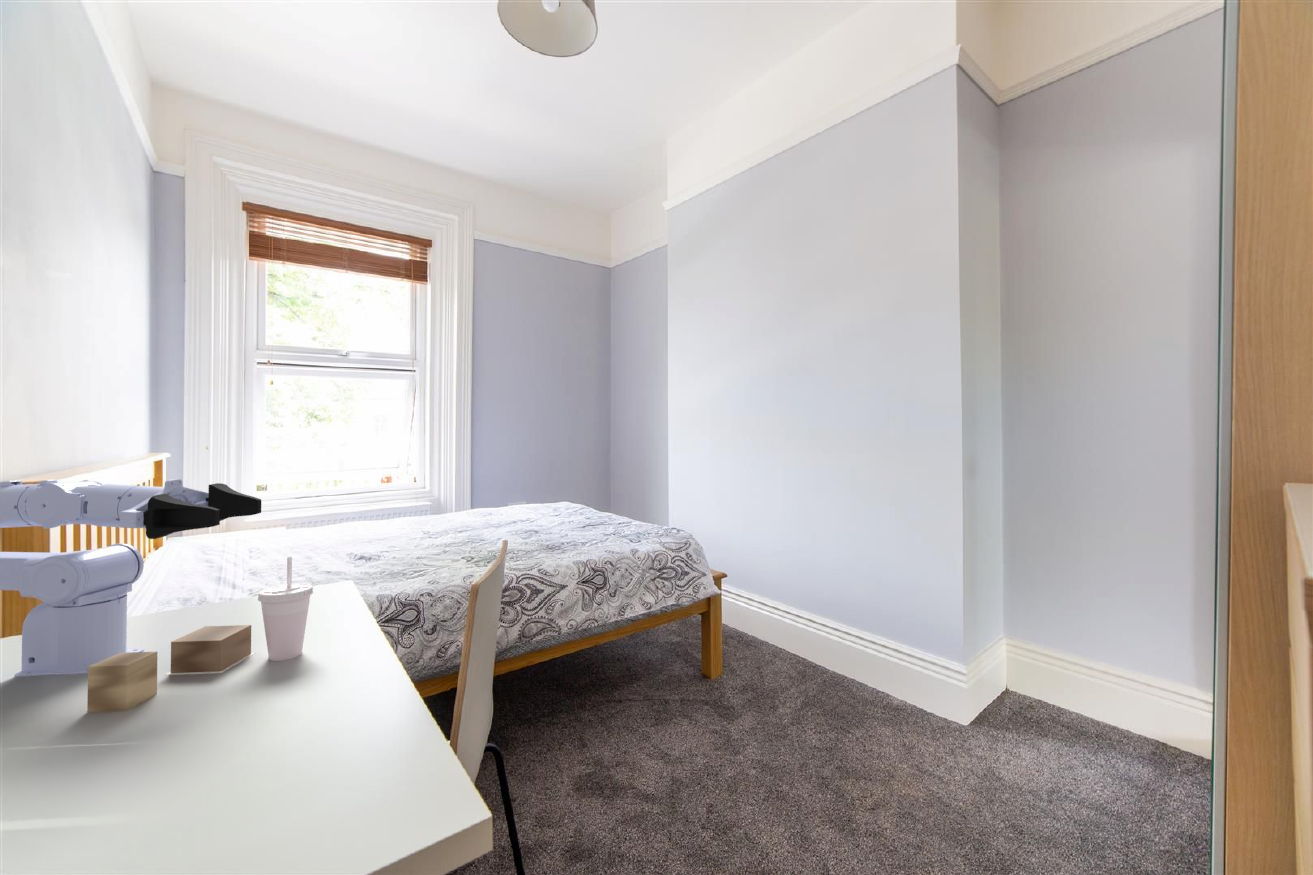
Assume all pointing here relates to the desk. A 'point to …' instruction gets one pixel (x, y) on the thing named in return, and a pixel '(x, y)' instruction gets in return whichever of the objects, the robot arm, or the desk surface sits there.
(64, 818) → the desk surface
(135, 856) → the desk surface
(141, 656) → the oak block
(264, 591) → the smoothie
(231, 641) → the walnut block
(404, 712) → the desk surface
